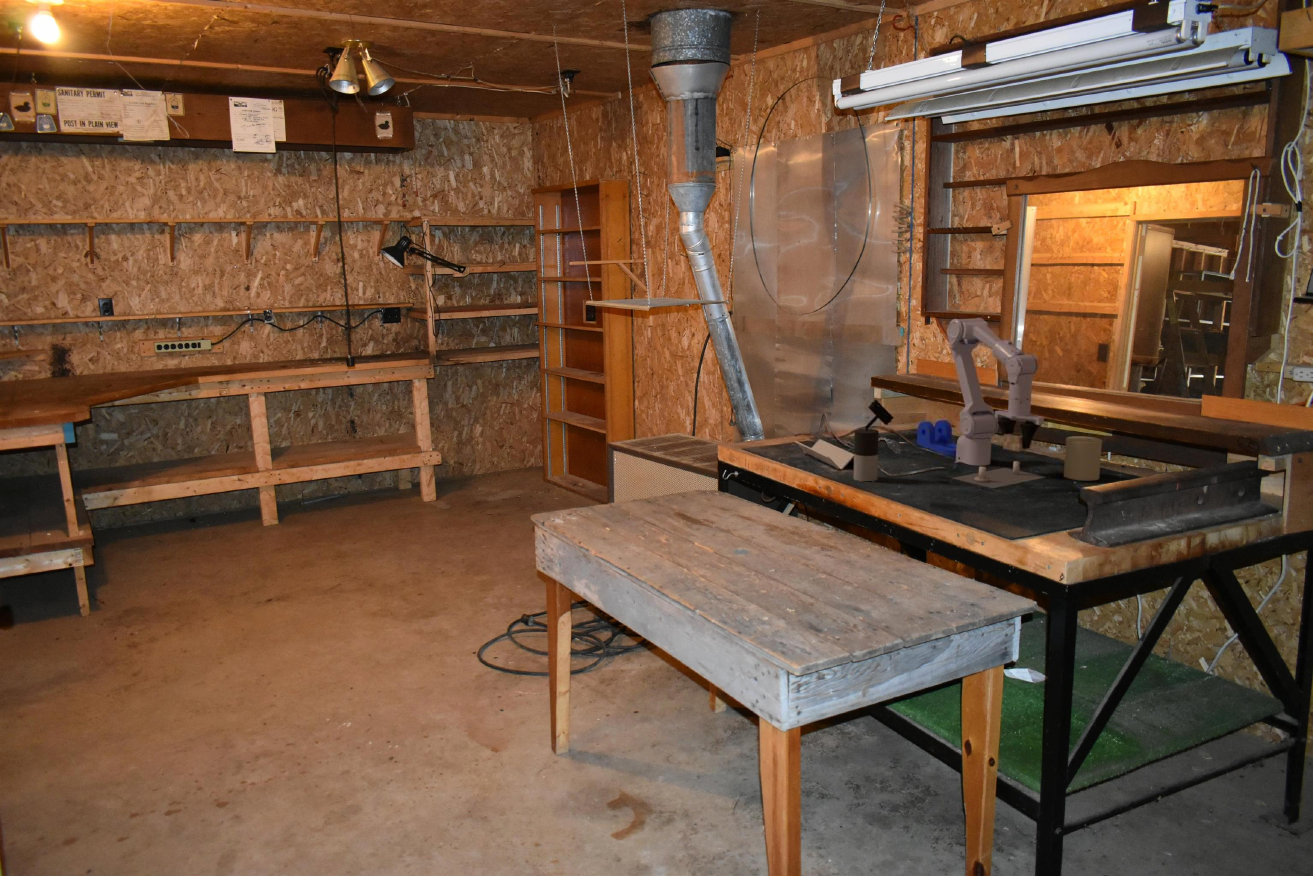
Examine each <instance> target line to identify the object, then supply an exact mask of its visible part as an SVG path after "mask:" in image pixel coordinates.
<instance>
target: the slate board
mask: <svg viewBox="0 0 1313 876" xmlns="http://www.w3.org/2000/svg"><path fill="white" fill-rule="evenodd" d="M1020 462H1021V461H1017V460H1015V461H1013V465H1012V468H1007V467H1001V468H996V469H992V470H987V467H986V466H978V472H977V473H972V474H966V475H960V476H956V477H952V480H951V483H956V484H959V485H960V484H961V485H964V486H967V487H968V486H969V487H971V488H972V487H973V488H976V489H980V490H984V491H988V492H991V493H994V492H995V490H992V489H996V488H1000V487H1006V486H1011V485H1015V484H1021V483H1025V482H1030V481H1035V480H1036V481H1037V480H1039V479H1045V478H1046V476H1044V475H1039V474H1034V473H1030V472H1026V471H1022V470H1020V464H1021V463H1020ZM953 479H954V480H953ZM955 480H958V481H955ZM960 481H961V482H960ZM964 482H966V483H964ZM967 483H970V484H967ZM971 484H972V485H971ZM973 484H974V485H973ZM975 485H978V486H975ZM980 486H981V487H980ZM983 487H986V488H983ZM988 488H989V489H988Z"/></svg>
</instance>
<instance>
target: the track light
mask: <svg viewBox="0 0 1313 876" xmlns="http://www.w3.org/2000/svg"><path fill="white" fill-rule="evenodd" d="M867 408H868V409H869V410H870V412H872V413H873V414H874V415H875V416H874V417H873V418H872V419H871V420H870V421H869V422H868V423H867V424H866V426H865V428H858V429H855V430H854V439H853V440H854V442H853V444H854V446H853V447H854V448H853V454H854V462H853V480H854V481H857V480H858V482H862V481H872V482H876V481H878V473H879V472H878V470H879V469H878V466H879V464H878V463H879V438H880V437H879V434H880V433H879V430H878V429H873V428H871V426H873V425H874V424H875V422H876V421H877V420H878V419H879V420H880V421H881V422H882V423H883V424H884V425H886V426H888V425H889V424H890V423H892V420H893V419H894V416H893V415H892V414H891V413H890V412H889V411H888V410H887V409H886V408H885V407H884V406H883V405H882V404H881V402H879V401H878V400H877V399H874V400H873V401H871V402H870V405H869V406H868V407H867ZM875 480H876V481H875Z"/></svg>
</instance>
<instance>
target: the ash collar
mask: <svg viewBox="0 0 1313 876" xmlns="http://www.w3.org/2000/svg"><path fill="white" fill-rule="evenodd" d="M1032 441H1033V440H1032ZM1032 441H1031V444H1030V447H1029V448H1027V449H1023V447H1022V432H1013V433H1010V434H1004V437H1003V442H1002V443H1003V444H1002V449H1003V450H1008V451H1013V452H1024V451H1029V450H1032Z"/></svg>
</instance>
